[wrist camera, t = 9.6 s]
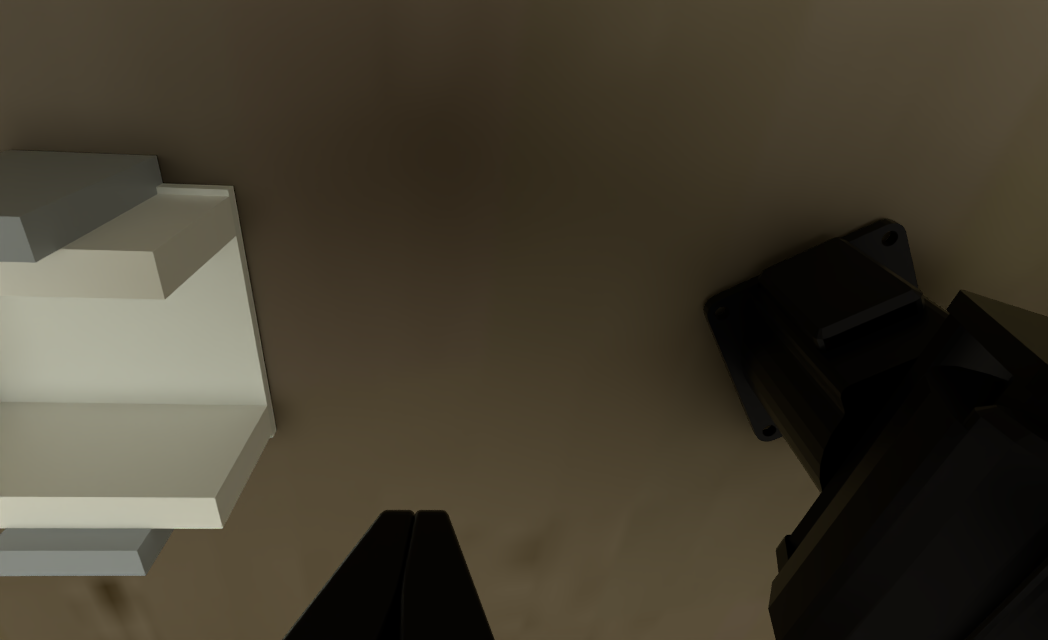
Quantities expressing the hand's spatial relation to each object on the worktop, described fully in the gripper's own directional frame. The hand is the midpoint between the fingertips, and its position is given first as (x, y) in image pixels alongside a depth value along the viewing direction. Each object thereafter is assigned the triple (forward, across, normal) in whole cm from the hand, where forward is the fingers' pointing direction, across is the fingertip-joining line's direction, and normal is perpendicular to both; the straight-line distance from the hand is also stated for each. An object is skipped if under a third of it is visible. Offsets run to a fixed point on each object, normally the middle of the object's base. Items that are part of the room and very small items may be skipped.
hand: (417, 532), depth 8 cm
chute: (+12, +14, +3) cm, 19 cm away
